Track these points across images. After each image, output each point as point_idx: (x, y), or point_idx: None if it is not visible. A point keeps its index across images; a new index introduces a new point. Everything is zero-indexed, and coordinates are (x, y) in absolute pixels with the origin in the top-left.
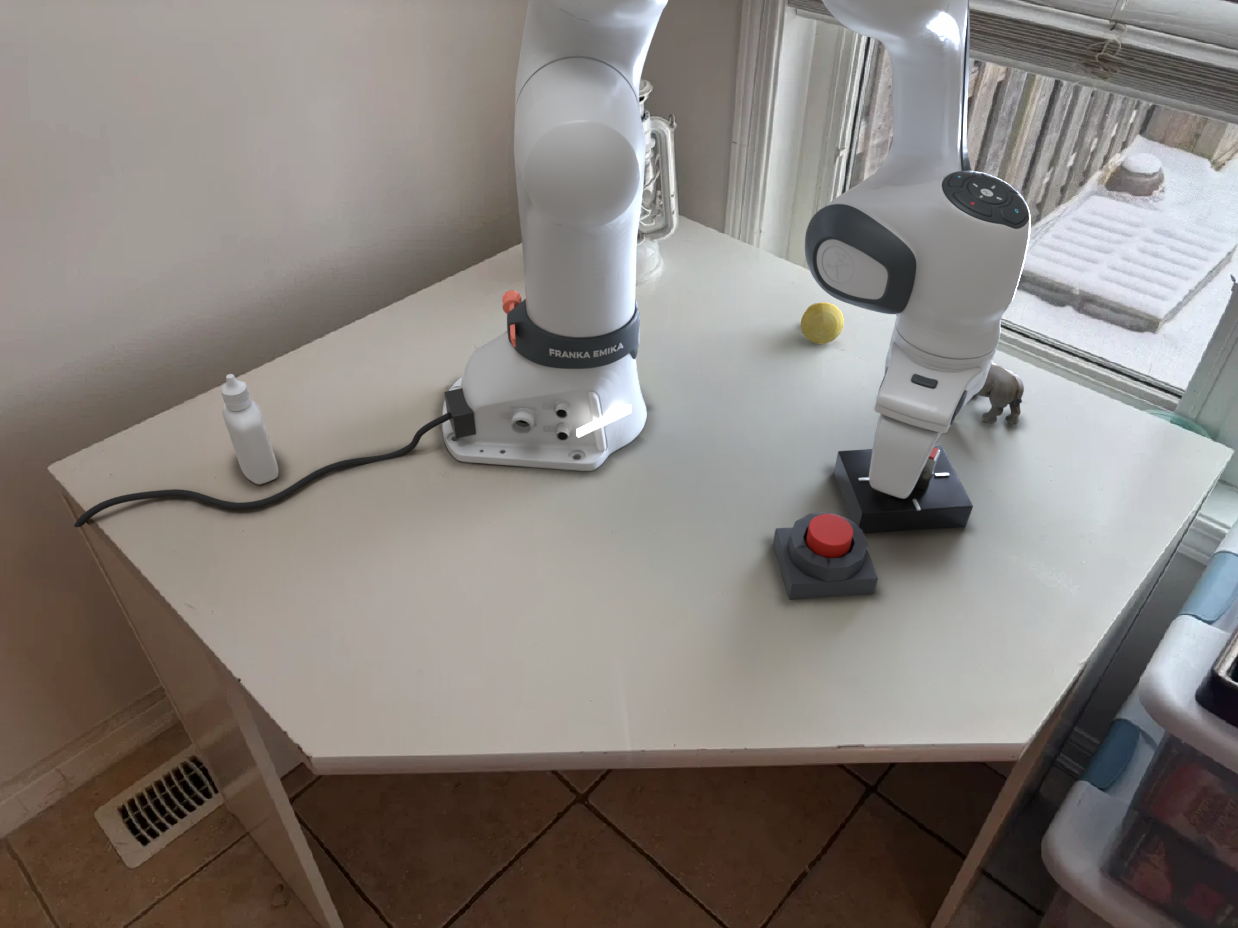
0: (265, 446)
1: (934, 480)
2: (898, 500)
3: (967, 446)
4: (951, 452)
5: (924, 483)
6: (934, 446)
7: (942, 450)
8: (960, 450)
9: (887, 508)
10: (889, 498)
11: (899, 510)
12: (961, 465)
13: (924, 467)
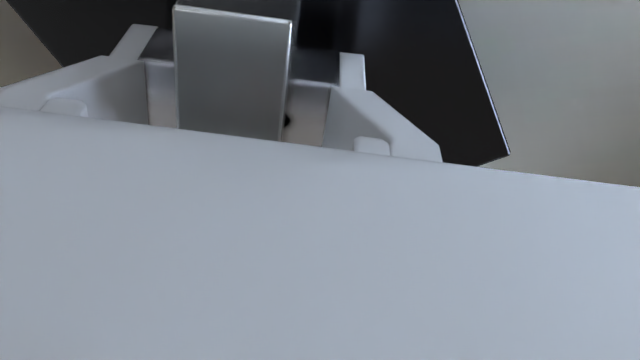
0: None
1: None
2: (108, 46)
3: (610, 173)
4: (573, 135)
5: None
6: (495, 133)
7: (478, 159)
8: (587, 157)
9: (34, 10)
10: (97, 9)
11: (55, 57)
12: (510, 165)
13: None
